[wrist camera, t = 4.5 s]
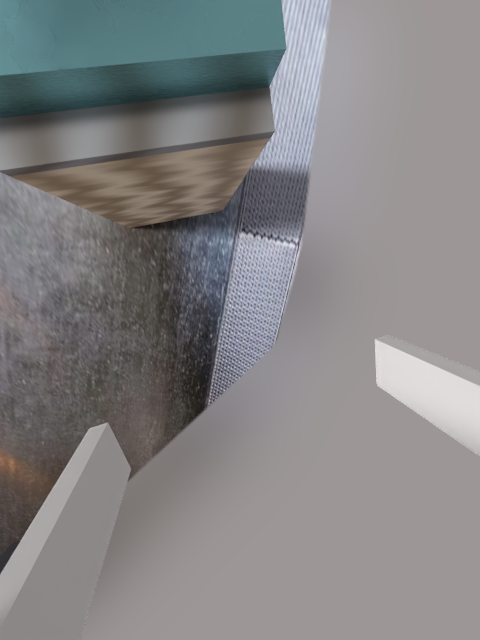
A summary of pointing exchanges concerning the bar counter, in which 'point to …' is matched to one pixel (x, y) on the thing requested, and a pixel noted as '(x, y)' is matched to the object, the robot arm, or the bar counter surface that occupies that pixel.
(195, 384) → the bar counter surface
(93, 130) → the pedestal
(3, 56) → the teal and grey bar
